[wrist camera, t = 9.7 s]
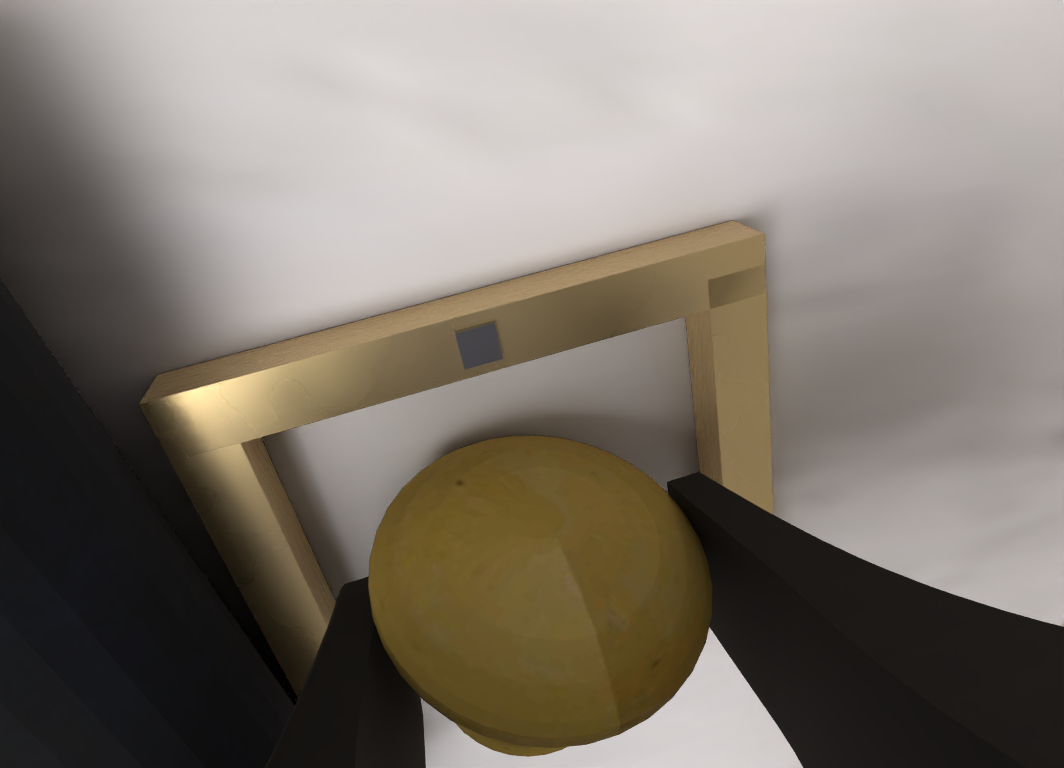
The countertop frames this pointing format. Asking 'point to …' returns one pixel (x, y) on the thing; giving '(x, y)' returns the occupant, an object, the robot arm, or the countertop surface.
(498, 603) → the knob
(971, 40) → the countertop surface
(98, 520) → the pipe connector
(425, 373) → the u-shaped bracket
